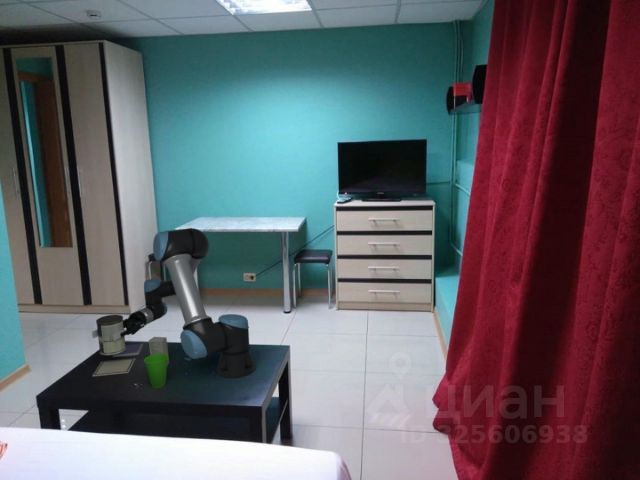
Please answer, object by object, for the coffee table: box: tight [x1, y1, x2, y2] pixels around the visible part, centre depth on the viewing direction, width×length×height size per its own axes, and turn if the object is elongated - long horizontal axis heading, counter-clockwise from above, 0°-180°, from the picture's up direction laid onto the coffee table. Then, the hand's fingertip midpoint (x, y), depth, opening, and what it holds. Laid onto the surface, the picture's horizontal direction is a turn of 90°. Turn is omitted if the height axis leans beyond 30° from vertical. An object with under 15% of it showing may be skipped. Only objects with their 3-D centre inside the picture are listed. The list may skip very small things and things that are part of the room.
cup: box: [143, 354, 170, 389], centre depth 179 cm, size 9×9×11 cm
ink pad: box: [112, 343, 144, 358], centre depth 213 cm, size 11×11×1 cm
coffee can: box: [95, 314, 126, 356], centre depth 194 cm, size 10×10×14 cm
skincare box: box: [148, 336, 170, 366], centre depth 196 cm, size 6×4×12 cm
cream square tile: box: [92, 357, 136, 377], centre depth 196 cm, size 14×14×1 cm
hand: (103, 336), depth 190 cm, fingers closed on coffee can, 10 cm apart
